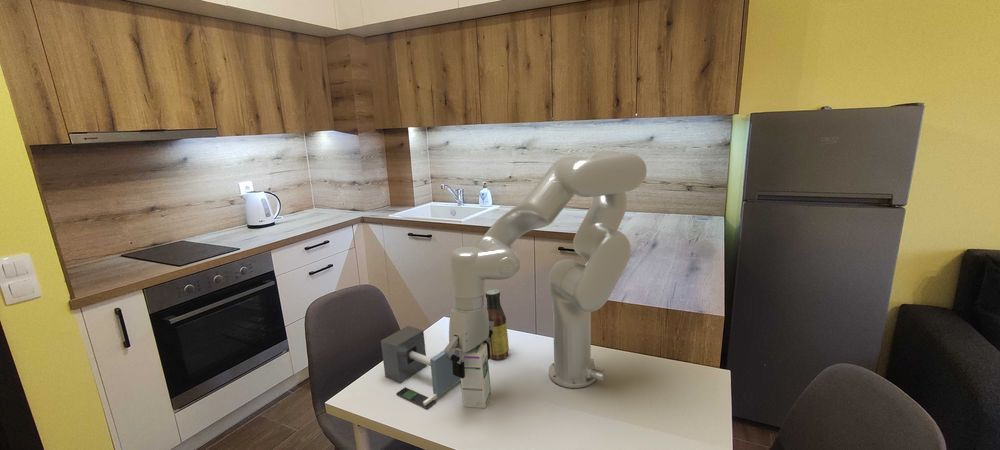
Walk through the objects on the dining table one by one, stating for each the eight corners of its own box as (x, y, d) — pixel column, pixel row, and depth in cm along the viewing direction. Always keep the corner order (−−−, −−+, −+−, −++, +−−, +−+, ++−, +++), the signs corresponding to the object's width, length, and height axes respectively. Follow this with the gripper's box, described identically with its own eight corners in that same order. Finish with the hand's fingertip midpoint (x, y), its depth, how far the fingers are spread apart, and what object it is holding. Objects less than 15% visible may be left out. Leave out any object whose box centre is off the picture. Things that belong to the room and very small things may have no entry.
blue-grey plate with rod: (463, 377, 118) (461, 342, 115) (426, 405, 107) (422, 368, 104) (424, 361, 126) (421, 329, 124) (385, 387, 115) (381, 352, 113)
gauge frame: (464, 380, 118) (462, 343, 115) (427, 409, 107) (423, 368, 104) (412, 360, 129) (408, 325, 127) (373, 384, 118) (368, 347, 116)
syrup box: (486, 409, 106) (482, 354, 102) (462, 407, 107) (457, 352, 104) (491, 394, 111) (487, 342, 108) (468, 392, 113) (464, 340, 109)
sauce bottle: (513, 352, 130) (509, 289, 126) (501, 363, 125) (498, 297, 120) (494, 347, 134) (490, 286, 129) (482, 357, 129) (478, 293, 124)
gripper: (479, 285, 112) (481, 347, 116) (431, 309, 98) (435, 379, 102) (503, 291, 107) (505, 355, 111) (456, 317, 94) (460, 389, 98)
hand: (472, 366), depth 107 cm, fingers open, 9 cm apart
